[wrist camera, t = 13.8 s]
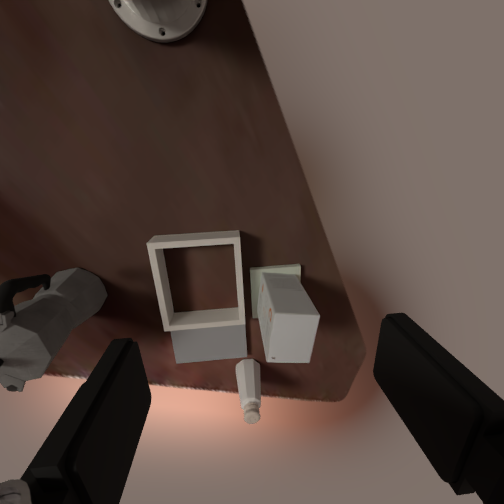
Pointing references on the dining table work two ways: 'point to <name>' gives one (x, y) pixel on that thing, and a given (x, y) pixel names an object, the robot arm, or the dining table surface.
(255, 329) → the dining table surface
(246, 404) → the pepper shaker
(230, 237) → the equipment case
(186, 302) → the dining table surface
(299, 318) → the small box
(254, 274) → the rubber mat
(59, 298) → the coffeepot
